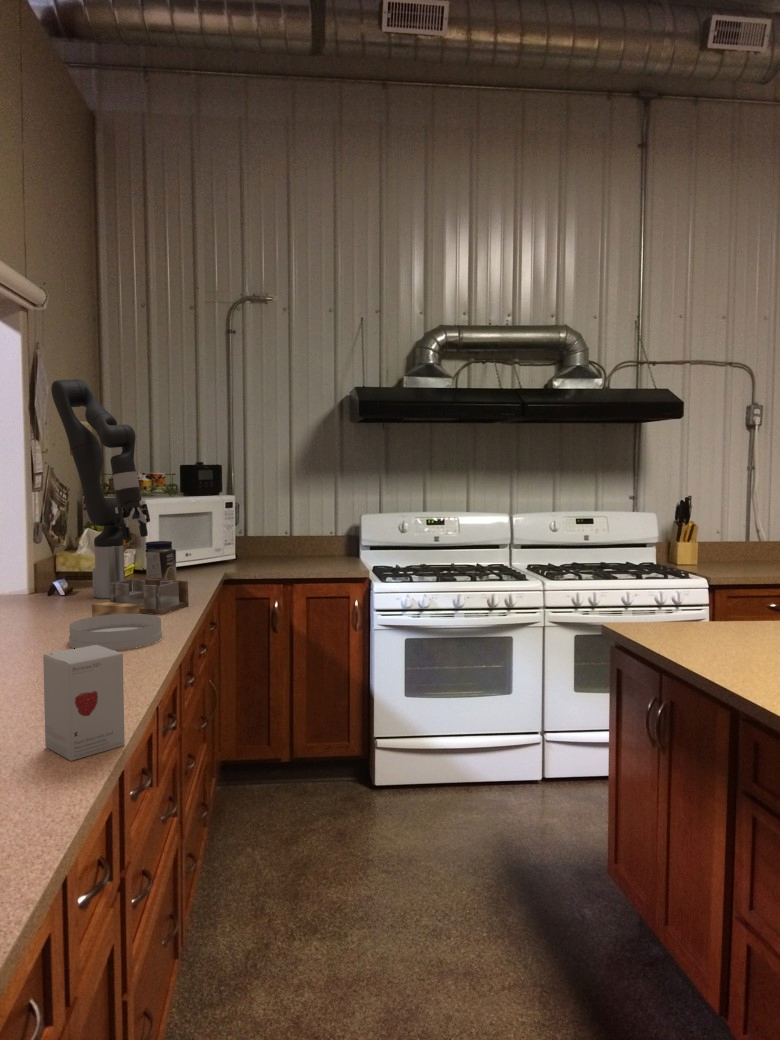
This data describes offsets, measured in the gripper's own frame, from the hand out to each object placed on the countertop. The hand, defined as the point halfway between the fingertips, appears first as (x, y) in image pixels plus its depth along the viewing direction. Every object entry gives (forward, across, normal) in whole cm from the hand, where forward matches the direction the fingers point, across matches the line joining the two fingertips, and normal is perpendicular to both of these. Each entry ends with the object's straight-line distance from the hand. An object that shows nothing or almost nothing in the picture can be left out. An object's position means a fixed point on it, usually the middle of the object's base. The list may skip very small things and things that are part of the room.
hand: (136, 538), depth 236 cm
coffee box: (+22, -10, -2) cm, 24 cm away
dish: (+25, +44, +22) cm, 56 cm away
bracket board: (+22, +6, +5) cm, 24 cm away
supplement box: (+31, +105, +64) cm, 127 cm away
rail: (+22, +22, +5) cm, 32 cm away
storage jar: (+18, -41, -24) cm, 51 cm away
